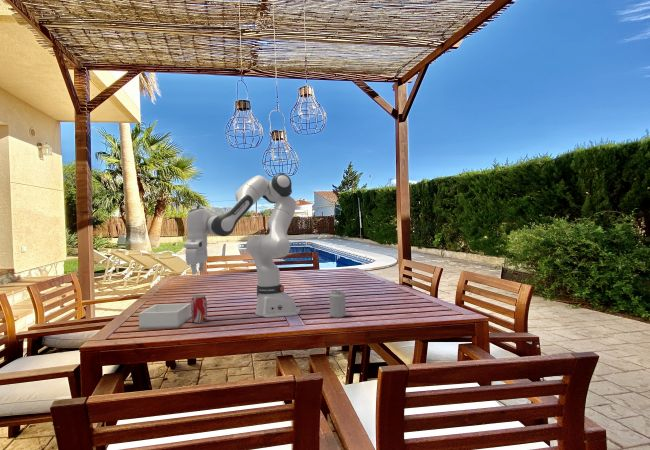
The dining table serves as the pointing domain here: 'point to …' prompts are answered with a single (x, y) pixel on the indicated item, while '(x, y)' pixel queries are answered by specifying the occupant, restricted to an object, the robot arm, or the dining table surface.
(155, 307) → the bin
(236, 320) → the dining table surface
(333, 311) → the can
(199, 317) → the soda can
